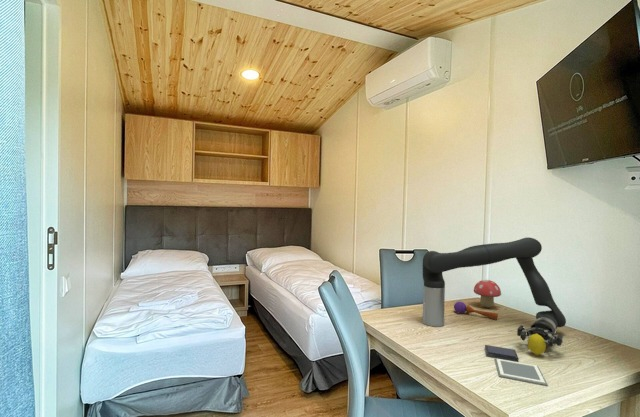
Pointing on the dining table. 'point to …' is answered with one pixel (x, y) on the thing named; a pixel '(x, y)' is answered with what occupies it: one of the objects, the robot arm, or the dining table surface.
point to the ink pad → (501, 353)
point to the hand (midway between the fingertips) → (535, 340)
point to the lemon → (536, 344)
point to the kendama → (462, 308)
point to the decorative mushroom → (487, 292)
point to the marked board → (520, 372)
